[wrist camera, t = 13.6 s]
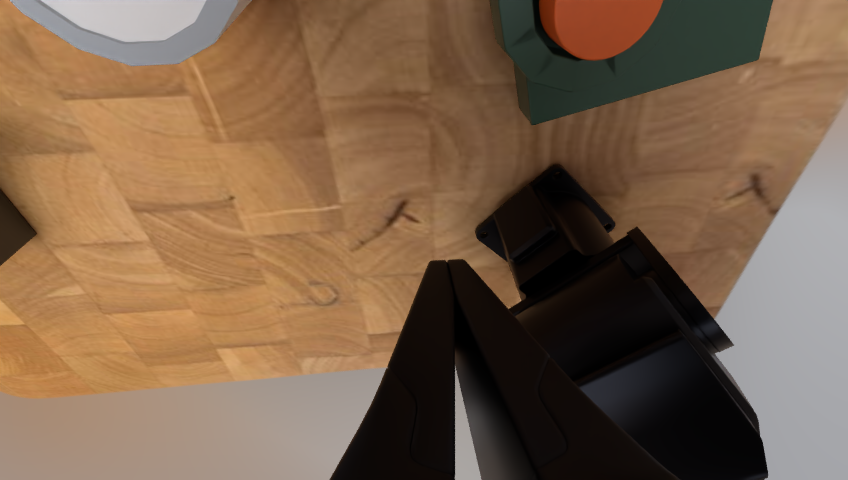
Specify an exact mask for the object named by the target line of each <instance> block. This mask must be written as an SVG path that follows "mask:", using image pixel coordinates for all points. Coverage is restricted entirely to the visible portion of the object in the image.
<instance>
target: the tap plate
mask: <svg viewBox="0 0 848 480" xmlns="http://www.w3.org/2000/svg"><path fill="white" fill-rule="evenodd" d="M35 235H36V233H35V232H34V230H33V229H32V228H31V227H30V225H29V224H28V223H27V222H26V221H25V219H24V218H23V217H22V216H21V215H20V213H19V212H18V211H17V210H16V208H15V207H14V206H13V205H12V204H11V202H10V201H9V200H8V199H7V198H6V196H5V195H4V194H3V193H2V191H1V190H0V266H1V265H2V264H3V263H4V262H5V261H6V260H8V259H9V258H10V257H11V256H12V255H13V254H15V253H16V252H17V251H18V250H19V249H20V248H21V247H23V246H24V245H25V244H26V243H27V242H28V241H29V240H31V239H32V238H33V237H34V236H35Z"/></svg>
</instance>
